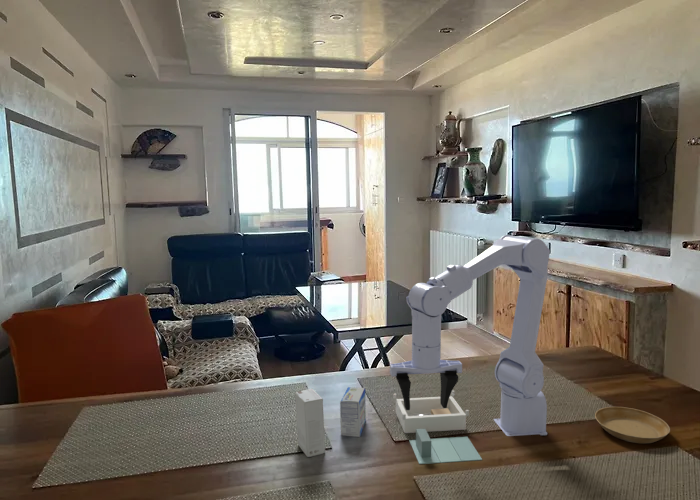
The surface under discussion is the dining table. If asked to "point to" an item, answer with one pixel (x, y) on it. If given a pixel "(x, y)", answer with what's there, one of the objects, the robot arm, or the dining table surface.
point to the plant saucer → (632, 424)
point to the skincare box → (310, 422)
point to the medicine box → (353, 411)
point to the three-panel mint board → (442, 449)
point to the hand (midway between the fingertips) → (425, 407)
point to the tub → (430, 421)
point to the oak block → (440, 411)
